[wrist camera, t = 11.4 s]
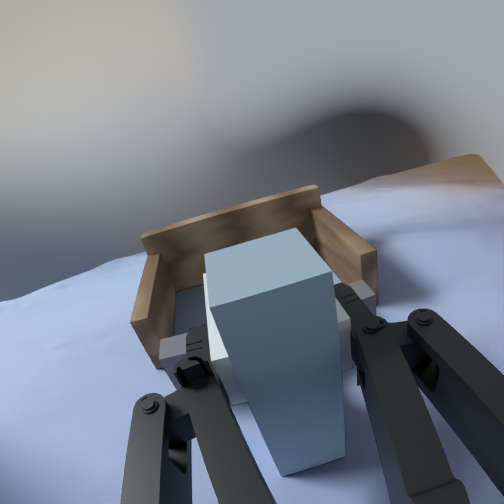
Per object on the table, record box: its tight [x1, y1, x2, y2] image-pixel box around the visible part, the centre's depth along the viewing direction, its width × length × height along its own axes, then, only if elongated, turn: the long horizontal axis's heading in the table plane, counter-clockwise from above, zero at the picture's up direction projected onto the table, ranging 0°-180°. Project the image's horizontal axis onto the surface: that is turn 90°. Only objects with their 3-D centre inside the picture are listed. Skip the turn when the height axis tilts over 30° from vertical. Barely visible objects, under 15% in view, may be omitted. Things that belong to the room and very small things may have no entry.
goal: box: [130, 185, 378, 369], centre depth 29 cm, size 19×13×7 cm
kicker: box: [159, 228, 376, 477], centre depth 16 cm, size 14×9×12 cm, turn 100°
